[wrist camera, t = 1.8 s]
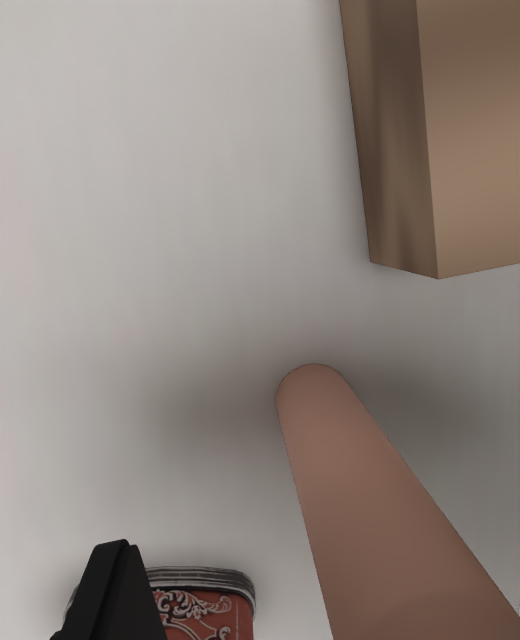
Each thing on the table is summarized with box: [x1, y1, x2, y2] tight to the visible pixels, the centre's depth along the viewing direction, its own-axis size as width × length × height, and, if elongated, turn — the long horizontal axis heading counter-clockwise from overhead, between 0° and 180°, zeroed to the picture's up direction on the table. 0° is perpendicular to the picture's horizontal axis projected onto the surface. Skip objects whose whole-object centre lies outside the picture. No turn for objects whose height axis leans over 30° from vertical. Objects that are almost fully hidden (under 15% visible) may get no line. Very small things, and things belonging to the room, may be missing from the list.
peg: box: [276, 364, 520, 640], centre depth 11 cm, size 3×3×10 cm
